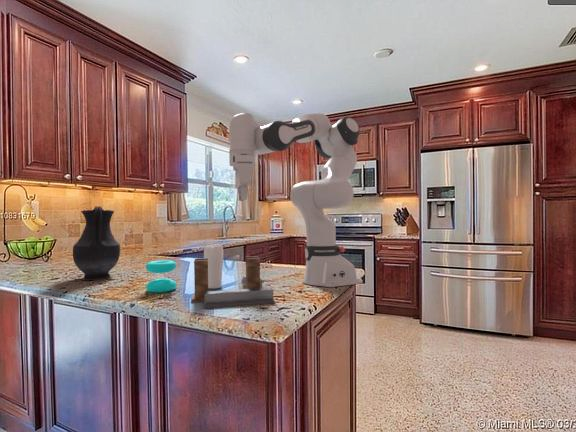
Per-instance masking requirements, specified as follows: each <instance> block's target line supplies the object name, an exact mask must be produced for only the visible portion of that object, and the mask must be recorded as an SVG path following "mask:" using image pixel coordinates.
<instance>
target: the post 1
mask: <svg viewBox="0 0 576 432" xmlns="http://www.w3.org/2000/svg"><path fill="white" fill-rule="evenodd" d="M193 265H194V266H193V267H194V268H193V269H194V270H193V271H194V294H192V295H191V298H190V303H205V292H207V291H209V288H208V258H204V257H202V258H194V261H193Z"/></svg>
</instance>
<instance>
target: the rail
mask: <svg viewBox="0 0 576 432" xmlns="http://www.w3.org/2000/svg"><path fill="white" fill-rule="evenodd" d="M261 300H274V289H273V287H262V288H255V289H243V288H241V289H227V290H226V289H225V290H210V291H209V290H208V291H207V292H205V302H204V305H205V304H218V303H232V302H247V301H261Z"/></svg>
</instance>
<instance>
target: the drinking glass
mask: <svg viewBox="0 0 576 432" xmlns="http://www.w3.org/2000/svg"><path fill="white" fill-rule="evenodd" d="M203 258H208V290H209V289H210V290H216V289H217V290H218V289H220V288H221V287H222V286H223V285H222V284H223V283H222V282H223V279H222V278H223V269H224V267H223V265H224V245H221V244H211V245H210V244H209V245H204V246H203Z"/></svg>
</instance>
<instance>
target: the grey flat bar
mask: <svg viewBox="0 0 576 432" xmlns="http://www.w3.org/2000/svg"><path fill="white" fill-rule="evenodd" d="M275 302H276V301H275V300H274V299H273V300H261V301H247V302H232V303H218V304H205V303H204V310H205V309H214V308H215V309H219V308H229V307H233V308H234V307H244V306H245V307H246V306H258V305H272V304H276V303H275Z"/></svg>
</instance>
